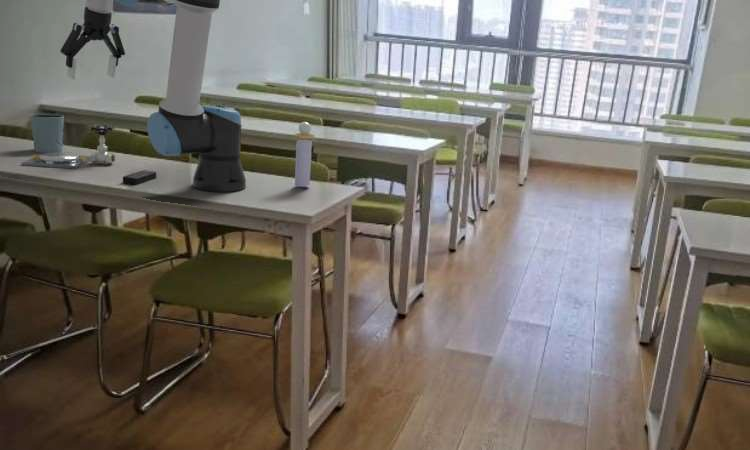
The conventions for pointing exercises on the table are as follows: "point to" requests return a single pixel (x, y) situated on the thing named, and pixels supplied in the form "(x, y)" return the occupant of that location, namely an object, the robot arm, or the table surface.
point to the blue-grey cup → (47, 132)
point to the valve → (102, 147)
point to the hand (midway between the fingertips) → (91, 76)
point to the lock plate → (57, 160)
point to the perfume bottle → (303, 156)
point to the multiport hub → (139, 177)
